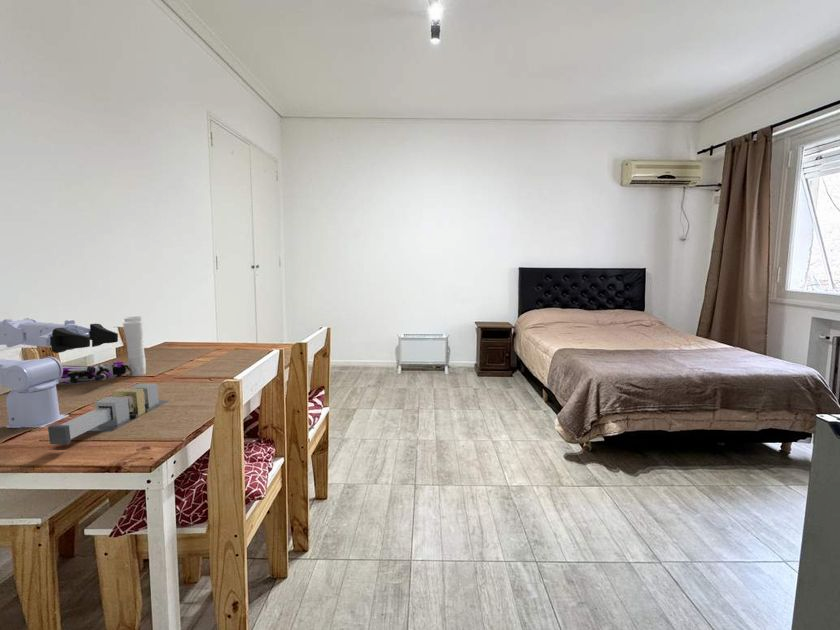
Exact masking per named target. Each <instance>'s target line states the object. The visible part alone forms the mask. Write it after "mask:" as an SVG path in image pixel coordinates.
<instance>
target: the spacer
mask: <svg viewBox="0 0 840 630" xmlns="http://www.w3.org/2000/svg"><path fill="white" fill-rule="evenodd" d="M111 394H112V396H111V397H129V396H132V401H133V408H130V410H129V414H138V416H140V415H142V414H144V413H145V403H144V399H145V395H144V391H143V389H132V388H129V387H127V388H124V387H120V388H119V387H118V388H116V389H114V390H112V391H111ZM144 415H145V414H144ZM142 416H143V415H142ZM140 417H141V416H140Z"/></svg>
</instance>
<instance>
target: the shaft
mask: <svg viewBox="0 0 840 630" xmlns="http://www.w3.org/2000/svg"><path fill="white" fill-rule="evenodd" d="M128 407H129V410H130V399H129V398H128ZM111 419H113V412H112V406H101V407H99V408H97V409H95V408H94V409H92V410H90V411H88V412H85V413H84V414H81V415H79V416H76V417H74V418H72V419H71V420H67V421H65V422H63V423H61V424H50V425H49V426H48V427H47V431H48V438H49V444H50V445H62V446H63V445H67V446H68V445H70V444H71V443H72V440H73V439H74V438H76V437H78V436H80V435H82V434H84V433H87V432H89V431H88V430H90V429H92V428H94V427H97V426H99V425H101V424H103V423H105V422H107V421H109V420H111Z"/></svg>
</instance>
